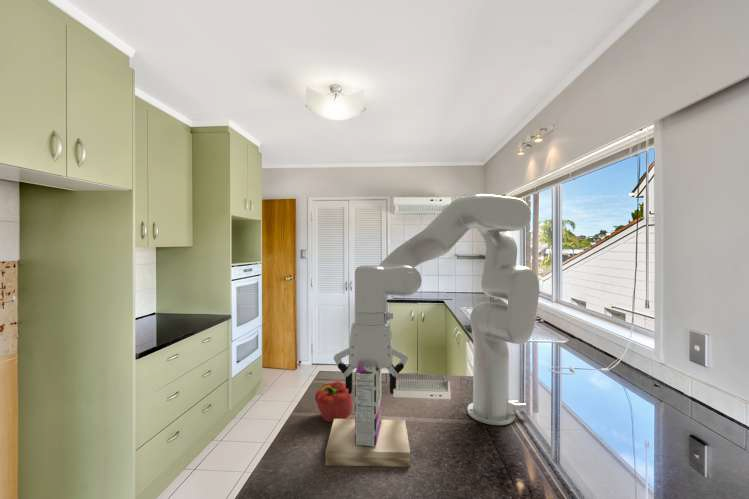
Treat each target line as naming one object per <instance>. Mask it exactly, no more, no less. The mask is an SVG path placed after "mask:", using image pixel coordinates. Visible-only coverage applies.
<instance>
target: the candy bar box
mask: <svg viewBox="0 0 749 499" xmlns="http://www.w3.org/2000/svg"><path fill="white" fill-rule="evenodd" d="M354 376H355V377H354V384H355V385H354V400H355V402H354V404H355V405H354V406H355V408H354V409H355V410H354V416H355V417H354V419H355V445H357V446H367V447H376V444H377V440H378V435H379V431H380V426H381V422H382V421H381V420H382V369H379V368H378V367H358V368H356V370H355V371H354Z"/></svg>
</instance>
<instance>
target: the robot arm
mask: <svg viewBox="0 0 749 499" xmlns="http://www.w3.org/2000/svg"><path fill="white" fill-rule="evenodd" d="M531 215H532V213H531V209H530V206H529V205H528V203H527V202H526V201H524V200H523V199H521V198H518V197H512V196H504V195H497V194H489V193H488V194H487V193H485V194H484V193H479V194H474V195H470V196H465V197H459V198H457V199H455V200H453V201H451V202H450V203H449V204H448V205H447V206H445V208H443V210H442V211H441V212H440V213H439V214H438V215H437V216H436V217H435V218H434V219H433V220H432V221H431V222H430V223H429V224H428V225H427V226H426V227H425V228H423V230H422V231H421V232H418V233H417V234H415V235H414V236H411V238H409V239H408V240H407V241H405V242H403V243H401V245H399V246H398V247H396V248H395V249H394V250H392V252H391V253H389V254H388V255H387V256H386V258H384V259H383V260H382V261H381V263H379V265H359V266H357V267H355V270H354V322H352V323H351V327H350V333H349V343H348V344H349V347H347V348H346V349H343V350H342V351H339V352H338V353H336V354H334V355H333V360H334V362H335V365H336V366H337V368H338V370H340V372H341V373H343V375H344V376H345V385H346V389H348V394H352V393H353V372H354V370H355V369H357V368H358V367H378V368H379V369H381V370H382V369H385V370H386V369H387V371H388V372H389V394H391V395H393V394H394V390H396V389H397V376H398V374H400V373H401V371H402V370H404V367H405V365H406V364H407V362H408V360H409V356H408V355H407V353H404V352H403V351H400V350H398V349H396V348H394V347H393V337H392V336H393V335H392V328H391V324H390V323H389V322H388V321H389V320H393V319H394V313H390V312H388V301H387V300H388V296H395V297H397V296H399V297H408V296H409V297H410V296H412V295H414V294H416V293H417V292H418V291H419V290H420V288H421V286H422V275H421V273H420V272H419V270H418V269H416V267H418V266H419V265H422V264H423V263H427V262H429V261H432V260H436V259H438V258H439V257H442V256H444V255H446V254H448V253H449V252H450V251H451V249H452V248H453V247H454V246H455V245H456V244H457V243H458V242H459V240H461V238H462V237H463V236H465V234H467V232H468V231H469V230H472V229H477V230H478V232H479V233H480V234H481V236H482V238H483V241H484V242H485V256H484V257H485V258H484V264H483V271H482V276H481V284H480V285H481V290H482V292H483V293H484V294H485V295H486V296H488V297H491V298H494V299H495V298H496V299H500V300H505V301H506V300H507V304H504V303H498V302H493V301H492V302H491V301H482V302H478V303H476V305H474V307H473V308H472V310H471V312H470V318H469V320H470V321H469V322H470V327H471V332H472V334H471V335H472V340H473V341H472V342H473V370H472V373H473V379H472V380H473V381H472V383H473V384H472V385H473V386H472V387H473V389H472V392H473V393H472V401H473V402H471V403H469V404H468V405H467V409H466V410H467V414H468V415H469V416H470V417H471V418H472V419H473V420H476V421H478V422H480V423H482V424H487V425H493V426H506V425H509V424H512V423H513V422H514V421H515V416H516V415H515V412H516V411H519V412H526V411H527V409H528V407H527V404H526V403H525V402H523V403H522V402H519V401H518V400H517V399H515V400H512V399H511V400H510V399H509V398H510V396H509V395H510V351H509V347H508V343H511V344H514V345H523V344H525V343H527V342H529V340H531V337H532V335H533V334H534V329H535V323H536V320H537V310H538V304H539V298H540V297H539V296H540V290H541V289H540V287H541V286H540V280H539V278H538V275H537V273H536V272H535V271H534V270H533V269H532V268H530V267H528V266H525V265H524V266H523V265H517V260H518V245H517V242H516V240H515V238H514V237H513V235H512V234H511V232H514V231H515V232H516V231H520V230H523V229H525V228H526V227H527V226H528V224H529V223H530V220H531ZM347 356H348V363H349V364H348V365H346V364H345V363H344V362H343V360H342V359H343V358H345V357H347ZM393 356H395V357H396V358H398V359H400V360H399V362H398V363H397V364H396V365H394V364H393V362H394V361H393V358H394V357H393Z"/></svg>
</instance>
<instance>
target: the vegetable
mask: <svg viewBox="0 0 749 499" xmlns="http://www.w3.org/2000/svg"><path fill="white" fill-rule="evenodd" d="M351 394H352V393H351ZM351 394H348V389H346V383H344V382H342V381H334V382H331V383H330V382H329V383H325V384H323V385H322V386H321V387H320V388H318V389H317V390H316V392H315V394H314V398H315V399H314V400H315V403H316V405H317V408H318V410H319V412H320V415H321V417H322V418H323V420H324V421H325V422H329V423H333V421H334V419H348V418H349V417H350V415H351V413H352V410H353V400H352V395H351Z"/></svg>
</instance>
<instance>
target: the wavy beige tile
mask: <svg viewBox="0 0 749 499" xmlns="http://www.w3.org/2000/svg"><path fill="white" fill-rule="evenodd" d="M381 421H382V422H381V426H380V431H379V435H378V440H377V444H376V447H367V446H357V445H355V418H346V419H334V421H333V422H332V425H331V429H330V434H329V436H328V441H327V445H326V447H325V464H324V465H325V466H350V467H352V466H354V467H357V466H358V467H402V468H405V467H407V468H410V467H411V449H410V448H411V447H410V443H409V438H408V437H409V436H408V430H407V425H406V419H381Z"/></svg>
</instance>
